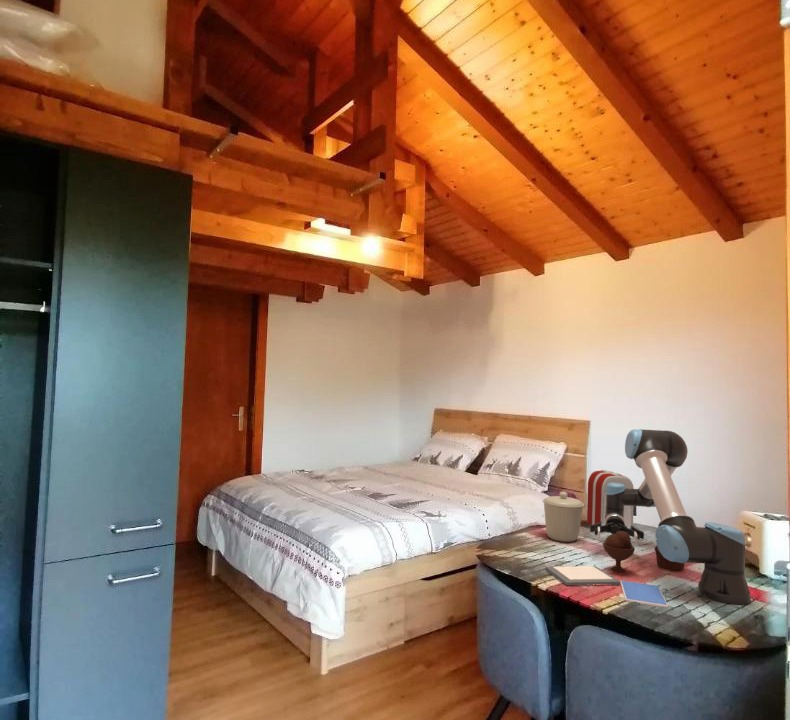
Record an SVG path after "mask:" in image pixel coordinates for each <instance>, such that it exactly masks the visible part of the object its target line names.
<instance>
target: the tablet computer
mask: <svg viewBox="0 0 790 720" xmlns="http://www.w3.org/2000/svg"><path fill="white" fill-rule="evenodd" d="M619 581H620V583H621V584H620V586H622V587H621V590H622V594H623V596H624V600H625V602H627V601H631V602H630V603H632V602H637V603H636V604H638V603H640V604H641V605H645V604H646V605H645V606H653V607H659V608H669V605H668V603H667V600H666V599H665V596H664V594H663V592H662V589H661V587H660V586H658V585H655V584H647V583H642V582H641V583H640V582H634V581H627V580H619Z"/></svg>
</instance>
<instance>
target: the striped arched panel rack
mask: <svg viewBox="0 0 790 720" xmlns="http://www.w3.org/2000/svg"><path fill="white" fill-rule="evenodd" d="M609 483H620V484H623V485H624V486H625V488H628V489H635V488H634V485H633V481H632V480H631V479H630V478H629V477H628V476H626V475H622V474H620V473H617V472H613V471H610V470H609V471H608V470H605V469H601V470H595V471H593V472H591V473H590V475H589V477H588V480H587V491H586V492H587V493H586V494H587V495H586V496H587V500H586V523H588V525H589V526H590V525H593V524H596V523H598V522H602V523H603V524H604V525H605V524H606V520H605V514H606V489H607V484H609ZM634 507H635V506H624V523H625V526H627V528H630V526H633V527H634Z"/></svg>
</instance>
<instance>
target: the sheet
mask: <svg viewBox="0 0 790 720" xmlns="http://www.w3.org/2000/svg"><path fill="white" fill-rule="evenodd" d="M567 566H568V565H567ZM567 566H552V567H553V569H555V570H556V571H557V572H559V573H560V574H561V575H563V576H564V577H566V578H567V579H568V580H570V581H593V580H613V579H612V578H611V577H609V576H608V575H606V574H605V573H603V572H601V571H600V570H598V569H597V568H595V567H593V566H594V565H589V566H588V565H585V566H584V565H583V566H580V565H579V566H573V565H572V566H568V567H567Z"/></svg>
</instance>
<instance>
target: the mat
mask: <svg viewBox="0 0 790 720" xmlns="http://www.w3.org/2000/svg"><path fill="white" fill-rule="evenodd" d="M592 566H593V567H595V568H597V569H598V570H600V571H601V572H603V573H605V574H606V575H608V576H609V577H611V578H612V579H613V580H593V581H570V580H568V579H567V578H566V577H564V576H563V575H561V574H560V573H559V572H557V571H556V570H555V569H553V567H554V566H545V571H546V570H547V571H546V572H547V573H549V572H550V573H551V576H553V577H554V576H555V577H556V578H555V577H554V578H555V579H557V580H558V579H559V580H560V581H559V580H558V581H559V582H561V583H562V582H563V583H564V584H563V583H562V584H563V585H565V584H566V585H588V584H589V585H593V584H595V585H596V584H611V585H610V586H621V584H620V581H621V580H619V579H617V578H615V577H614V576H613V575H610V574H609V573H607V572H606V571H604V570H602V569H601V568H600V567H598V566H596V565H592ZM566 567H568V565H567V566H566ZM550 573H549V574H550ZM566 585H565V586H566Z"/></svg>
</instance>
